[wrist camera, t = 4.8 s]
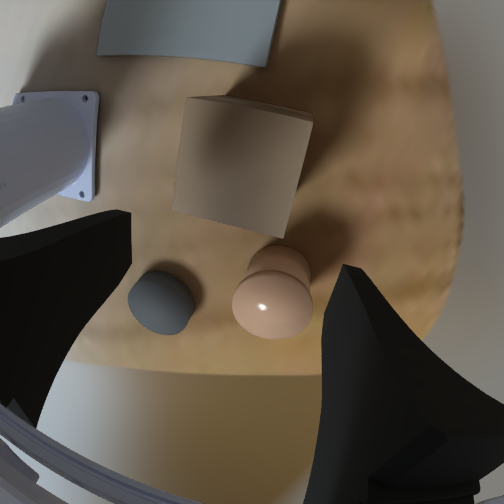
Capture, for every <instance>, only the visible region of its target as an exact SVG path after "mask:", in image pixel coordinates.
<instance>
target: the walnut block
mask: <svg viewBox="0 0 504 504" xmlns="http://www.w3.org/2000/svg"><path fill="white" fill-rule="evenodd" d="M312 126H313V114H312V113H308V112H304V111H300V110H296V109H292V108H287V107H283V106H279V105H274V104H269V103H265V102H260V101H255V100H250V99H244V98H239V97H233V96H227V95H218V96H200V97H187V98H186V104H185V111H184V117H183V124H182V131H181V138H180V146H179V153H178V161H177V170H176V179H175V188H174V198H173V208H172V211H176V212H180V213H184V214H188V215H192V216H196V217H200V218H204V219H208V220H212V221H216V222H220V223H224V224H228V225H232V226H236V227H239V228H243V229H247V230H251V231H255V232H259V233H263V234H267V235H270V236H274V237H278V238H282V239H283V238H284V234H285V230H286V227H287V223H288V219H289V216H290V212H291V208H292V204H293V201H294V197H295V193H296V189H297V185H298V181H299V178H300V174H301V170H302V166H303V162H304V158H305V154H306V150H307V146H308V142H309V139H310V135H311V131H312Z"/></svg>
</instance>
